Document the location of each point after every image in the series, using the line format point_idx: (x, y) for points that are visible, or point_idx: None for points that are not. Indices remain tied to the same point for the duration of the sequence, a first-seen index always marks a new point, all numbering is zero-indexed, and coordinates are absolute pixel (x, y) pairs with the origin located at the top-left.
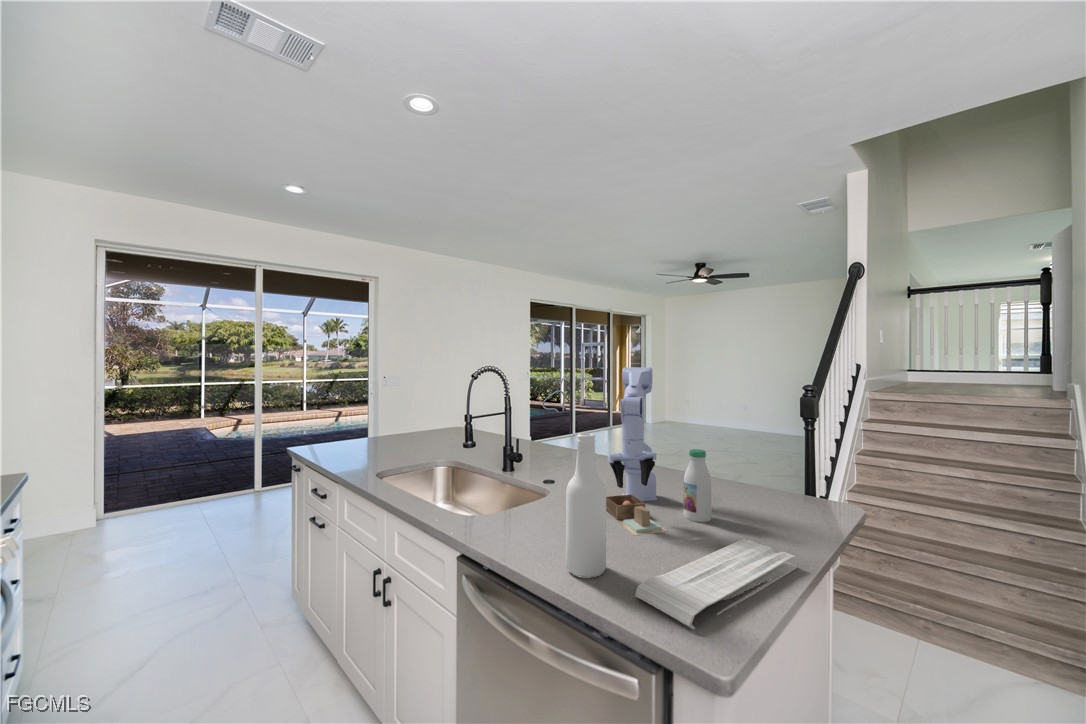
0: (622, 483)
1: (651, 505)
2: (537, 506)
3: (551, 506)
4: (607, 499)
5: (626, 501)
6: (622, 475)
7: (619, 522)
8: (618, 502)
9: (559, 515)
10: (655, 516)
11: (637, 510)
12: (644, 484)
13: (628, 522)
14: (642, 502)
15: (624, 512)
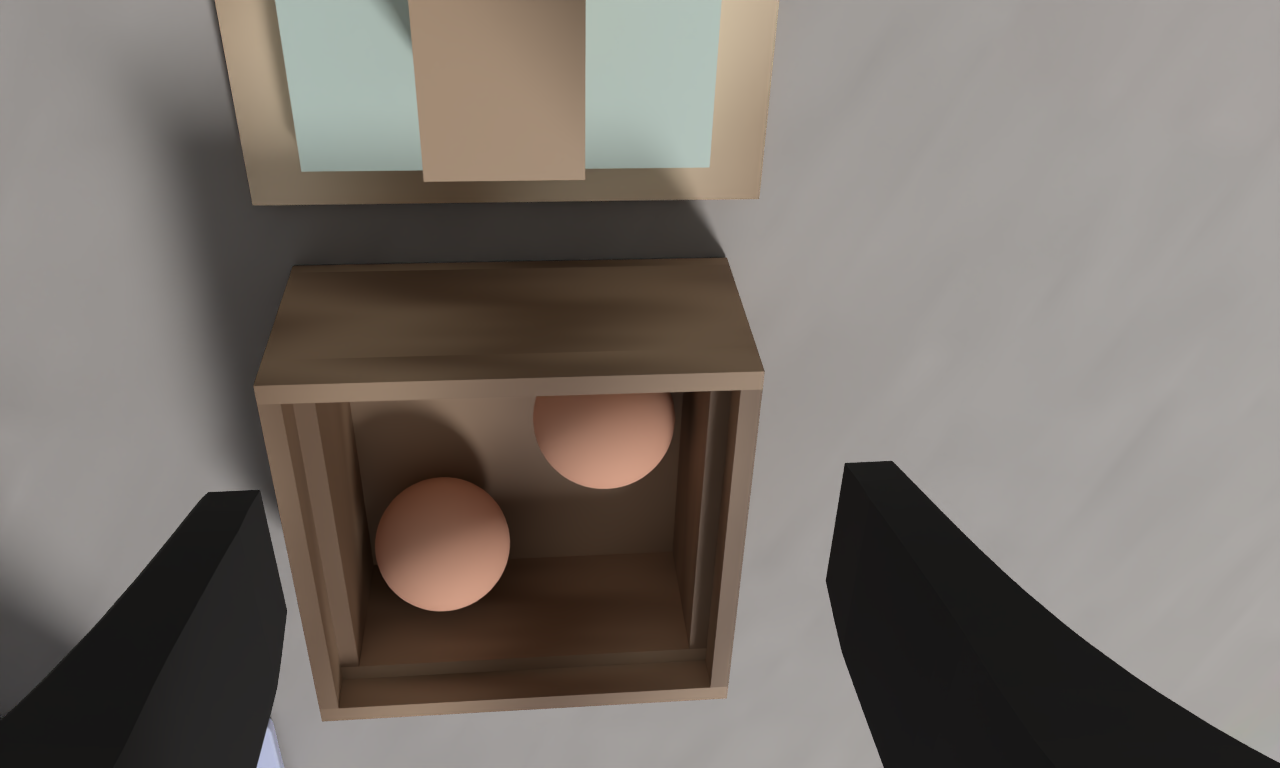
0: (897, 515)
1: (42, 611)
2: (1258, 749)
3: None
4: (733, 626)
5: (457, 583)
6: (1002, 652)
7: (751, 171)
8: (536, 620)
9: (1236, 534)
10: (116, 283)
11: (583, 48)
12: (257, 522)
13: (692, 51)
14: (286, 427)
15: (628, 313)
